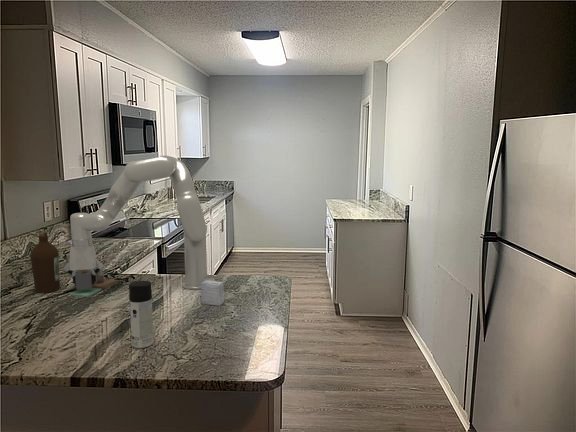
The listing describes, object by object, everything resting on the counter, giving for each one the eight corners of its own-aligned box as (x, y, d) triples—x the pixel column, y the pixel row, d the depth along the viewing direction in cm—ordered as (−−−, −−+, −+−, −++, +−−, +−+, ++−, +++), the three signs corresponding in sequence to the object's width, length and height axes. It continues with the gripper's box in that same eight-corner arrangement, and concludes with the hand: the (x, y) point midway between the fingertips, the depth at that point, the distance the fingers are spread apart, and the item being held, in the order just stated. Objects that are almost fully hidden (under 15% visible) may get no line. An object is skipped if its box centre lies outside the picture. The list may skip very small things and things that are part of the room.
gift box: (91, 287, 182) (90, 271, 181) (76, 289, 181) (74, 272, 180) (93, 283, 188) (92, 267, 187) (78, 284, 186) (77, 268, 185)
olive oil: (31, 295, 181) (25, 236, 177) (36, 287, 191) (31, 231, 187) (59, 292, 185) (55, 234, 181) (63, 284, 195) (58, 229, 191)
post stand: (118, 282, 199) (117, 265, 198) (104, 289, 189) (103, 271, 188) (96, 280, 202) (94, 263, 200) (81, 286, 192) (79, 269, 191)
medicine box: (224, 302, 174) (223, 281, 173) (219, 306, 170) (218, 285, 169) (206, 300, 177) (206, 279, 176) (201, 304, 173) (200, 283, 171)
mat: (101, 290, 188) (101, 288, 188) (87, 297, 179) (87, 295, 179) (83, 288, 190) (83, 287, 190) (68, 295, 182) (68, 293, 181)
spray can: (134, 339, 141) (131, 280, 138) (156, 339, 141) (153, 279, 138) (128, 349, 134) (125, 286, 131) (151, 348, 135) (148, 286, 132)
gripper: (57, 245, 175) (60, 288, 178) (103, 243, 180) (105, 285, 183) (61, 241, 182) (64, 283, 185) (105, 239, 187) (107, 280, 190)
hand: (84, 283), depth 184 cm, fingers closed on gift box, 6 cm apart
